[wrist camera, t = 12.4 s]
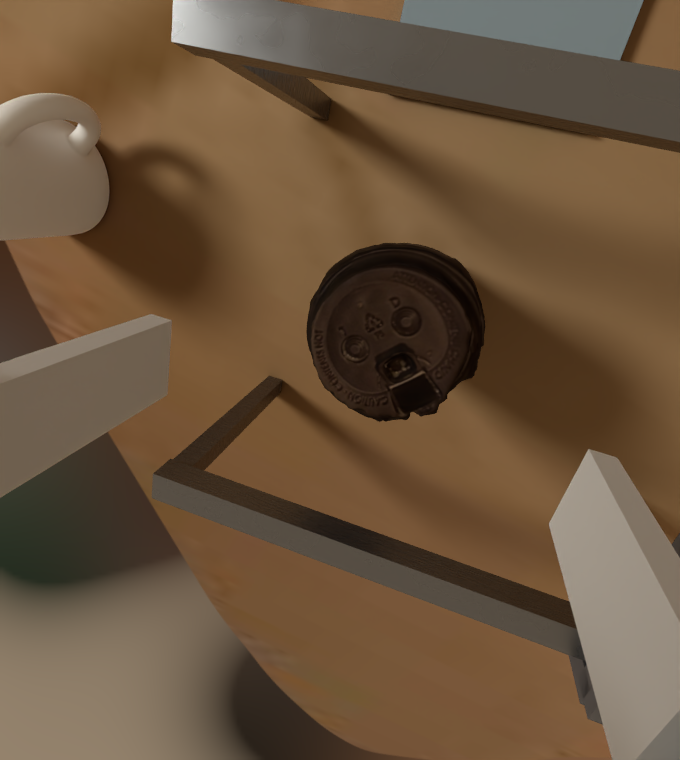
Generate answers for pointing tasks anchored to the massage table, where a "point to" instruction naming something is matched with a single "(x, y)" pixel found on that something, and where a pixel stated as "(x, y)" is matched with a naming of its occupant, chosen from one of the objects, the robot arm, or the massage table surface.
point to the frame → (435, 85)
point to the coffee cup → (395, 329)
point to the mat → (535, 22)
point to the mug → (50, 167)
